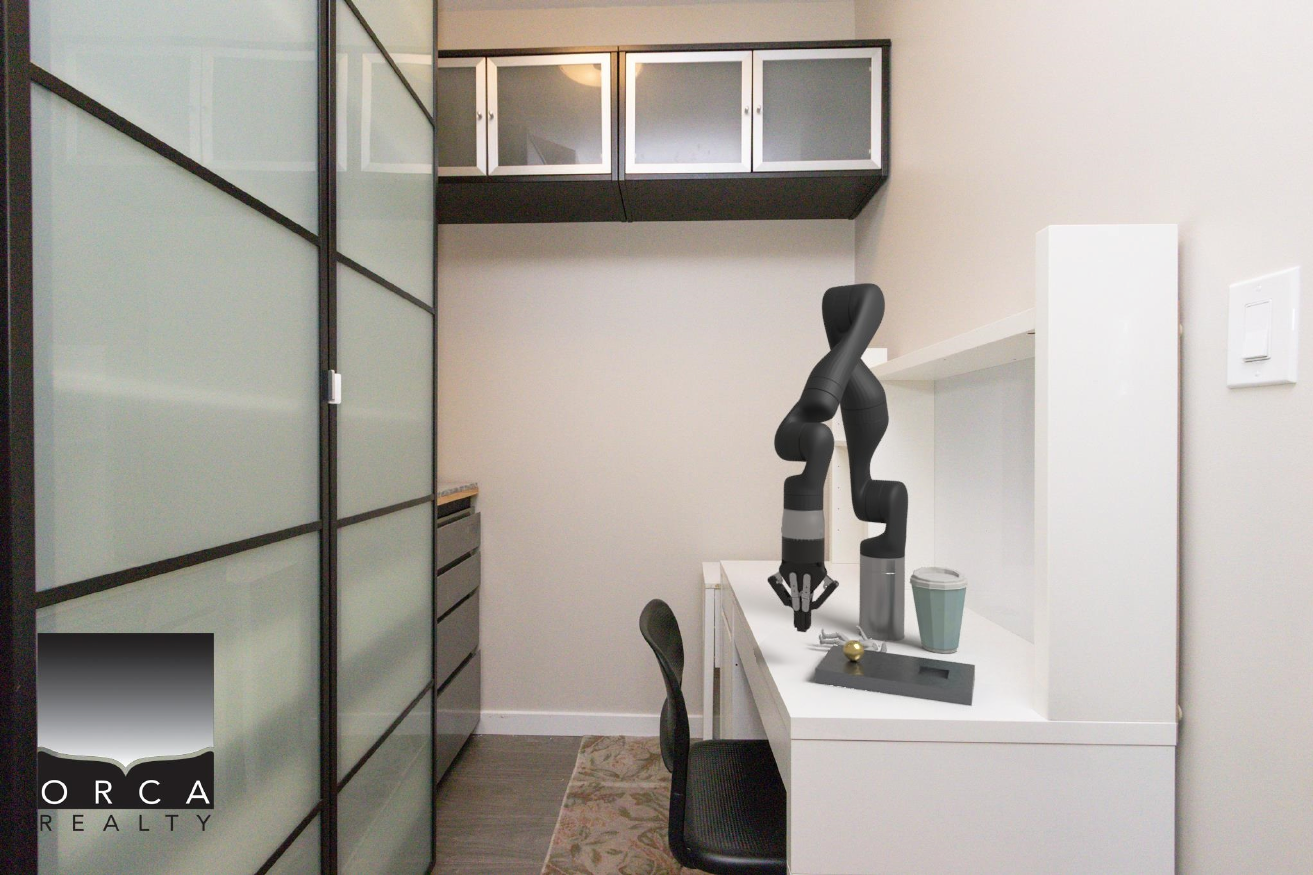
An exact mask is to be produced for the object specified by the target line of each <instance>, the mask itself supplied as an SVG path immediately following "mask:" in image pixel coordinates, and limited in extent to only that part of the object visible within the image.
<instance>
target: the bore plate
mask: <svg viewBox="0 0 1313 875" xmlns="http://www.w3.org/2000/svg"><path fill="white" fill-rule="evenodd" d="M843 648H844V647H842V646H838V645H835V644H834V645H832V646H831V647H830V649H828V652H827V653H826V654H825V655H824V657H823V658H822V659H821V661H820V662H819V663H818V665H817V666H816V667H815V670H814V673H815V674H814V682H815V684H816V685H817V684H818V685H825V686H830V685H833V686H832V687H837V686H842V687H841V688H844V687H846V688H845V689H851V688H854V689H853V690H860V691H865V690H867V691H866V692H873V693H879V692H880V693H881V694H886V695H887V694H888V695H894V696H902V697H909V698H914V699H919V700H920V699H923V700H927V701H928V700H929V701H934V702H941V703H948V704H949V703H950V704H956V705H964V706H971V707H972V706H973V697H974V689H975V680H976V679H975V678H976V664H971V663H964V662H957V661H949V660H943V659H935V658H926V657H922V656H921V657H920V656H913V655H907V654H905V655H904V654H898V653H892V652H891V653H890V652H886V653H885V652H879V650H877V651H871V650H864V655H863V657H862V658H861V659H860V660H858V661H851V660H849V659H847V658H846V657H845V655H844V652H843Z"/></svg>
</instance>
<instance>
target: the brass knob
mask: <svg viewBox="0 0 1313 875" xmlns="http://www.w3.org/2000/svg"><path fill="white" fill-rule="evenodd" d="M849 640H850V641H848V642H847V643H846V644H845V645H844V648H843V652H844V655H845V657H846V658H847V659H849V660H851V661H858V660H860V659H861V658H862V657H863V655H864V648H863V646H862V644H861V643H860V642H858V641H855V640H856V639H849Z"/></svg>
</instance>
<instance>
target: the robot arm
mask: <svg viewBox="0 0 1313 875" xmlns="http://www.w3.org/2000/svg"><path fill="white" fill-rule="evenodd" d="M885 309H886V302H885V295H884V293H883V290H882V289H881V288H880V287H879V285H877V284H876V283H871V282H870V283H857V284H847V285H838V286H833V287H829V288H827V290H825V292H824V293H823V296H822V300H821V315H822V317H821V318H822V322H823V326H824V331H825V334H826V339H827V342H828V346H829V352H828V353H826V354H825V355H824V356H822V358H821V359H820V360H819V361H818V362H817V363H816V365H814V367H813V368H812V370H811V371H810V373H809V375H808V378H807V380H806V382H805V384H804V387H803V390H802V392H801V395H800V397H799V399H798V401H797V402H796V403H795V404H794V405H793V406H792V408H791V409H790V410H789V412H788V413H787V414H786V416H785V417H784V418H783V419H782V420H781V422H780V424H779V425H778V428H777V429H776V432H775V434H774V439H773V440H774V441H773V445H774V446H773V447H774V450H775V453H776V455H777V456H778V457H779V458H780V459H782V460H783V461H785V462H799V463H800V462H801V463H805V465H804V468H803V470H802V472H801V473H799V474H793V475H789V476H787V477H786V478H785V479H784V481H783V509H782V518H781V528H780V529H781V531H780V532H781V562H780V565H779V566H778V571H777V572H776V573H774V574H772V575H770V576H768V577H767V579H766V580H767V583H768V584H769V585H770V587H771V588H772V590H773V591H774V592H775V595H776V596H777V597H778V599H779V600H780V601H781V603H782V604H783V605H784V606H785V607H790V608H791V609H792V610H793V626H794V627H793V628H795V629H796V632H800V633H806V632H808V630H810V628H811V627H812V611H813V610H819V608H820V607H822V605H823V604H824V603H825V602H826V601H827V600H828V598H829V597H830V596H831V595H832V594H833V592H834V591H835V590H836V589H837V588H838V587H839V586H840V583H839V581H838V580H834V579H833V578H831V576H829V575H828V570H827V568H826V564H825V554H826V553H825V550H826V549H825V548H826V546H825V544H826V543H825V540H826V539H825V532H826V530H825V529H826V528H825V527H826V521H825V514H824V512H825V511H824V498H825V497H824V495H825V494H824V490H825V484H826V480H827V475H828V471H829V467H830V464H831V461H832V458H833V454H834V450H835V436H834V434H833V433H834V432H833V431H832V429H831V428H830V427H829V425H827V424H826V423H825V422H828V421H830V420H832V419H833V418H834V417H835V416H836V414H837V411H838V409H839V408H840V415H841V421H842V425H843V431H844V436H845V443H846V450H847V457H848V465H849V466H848V467H849V480H850V494H851V495H850V496H851V505H852V509H853V514H854V516H855V517H856V518H857V519H858V520H859V521H862V522H865V523H875V524H884V525H885V528H884V531H883V532H882V533H881V534H879V535H875V536H872V537H867V538H864V539H863V540H861V541H860V544H859V609H858V610H859V614H858V615H859V616H858V617H859V618H858V619H859V624H858V626H859V627H860V628H861V629H862V631H863V632H864V634H865V636H866V637H867V638H868V639H870V638H872V640H876V641H884V640H885V641H900V640H903V639H904V638H905V615H906V614H905V610H906V608H905V600H906V599H905V596H906V595H905V594H906V593H905V590H906V589H905V588H906V586H905V584H906V571H905V570H906V568H905V567H906V566H905V564H906V563H905V561H906V543H907V528H908V514H909V512H908V511H909V493H908V488H907V486H906V484H905V483H904V482H902V481H901V480H900V481H899V480H886V479H885V480H884V479H873V478H872V476H871V462H872V458H873V456H874V453H875V452H876V449H877V448H878V447H879V445H880V443H881V441H882V439H883V437H884V435H885V433H886V432H887V429H888V426H889V422H890V421H889V420H890V416H889V408H888V402H887V396H886V392H885V389H884V386H883V384H882V383H881V381H880V380H879V379H878V378H877V376H876V375H875V374H874V373H873V372H872V370H871V369H870V368H869V366H868V365H867V364H866V363H865V362H864V360H863V359H862V357H863V355H864V354H865V352H866V350H867V348H868V347H869V345H870V343H871V341H872V340H873V338H874V337H875V334H876V333H877V331H878V329H879V327H880V326H881V324H882V321H883V318H884V314H885ZM784 582H785V583H786V585H787V586H788V588H789V589H790V592H789V591H788V590H787V588H786V586H785V585H784ZM822 583H823V584H822ZM821 584H822V588H823V591H822V592H821V594H820V595H819V596H818V597H817V598H816V600H814V595H815V591H816V590H817V589H818V587H819V586H820V585H821ZM858 632H859V634H860V633H861V632H860V631H859V630H858Z"/></svg>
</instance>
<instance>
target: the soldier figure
mask: <svg viewBox="0 0 1313 875" xmlns="http://www.w3.org/2000/svg"><path fill="white" fill-rule="evenodd" d="M856 629H857V630H858V632H859V631H860V632H861V633H859V635H860V636H861V638H860V639H854V640H855V641H858V642H860V643H861V644H862V646H863V648H864V650H871V651H878V652H885V653H888V648H887V644H886V642H885V641H884V640H883V643H882V644H878V645H877V644H876V643H875V642H874V641H873V640H871V639H869V638H867V637H866V636H865V634H864V632H863V631H862V629H861V628H860V627H859V624H858V625H856ZM818 639H819V645H821V646H822V645H832V646H833V645H835V646H842V647H844V645H845V644H846V643H847V642H848V641H850V640H851V639H850V638H849V637H848V636H846V635H845V634H844V633H842V632H837V631H836V632H835V633H828V634H826V632H825V629H824V628H822V629H821V631H820V633H819V635H818ZM879 648H880V650H879Z"/></svg>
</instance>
